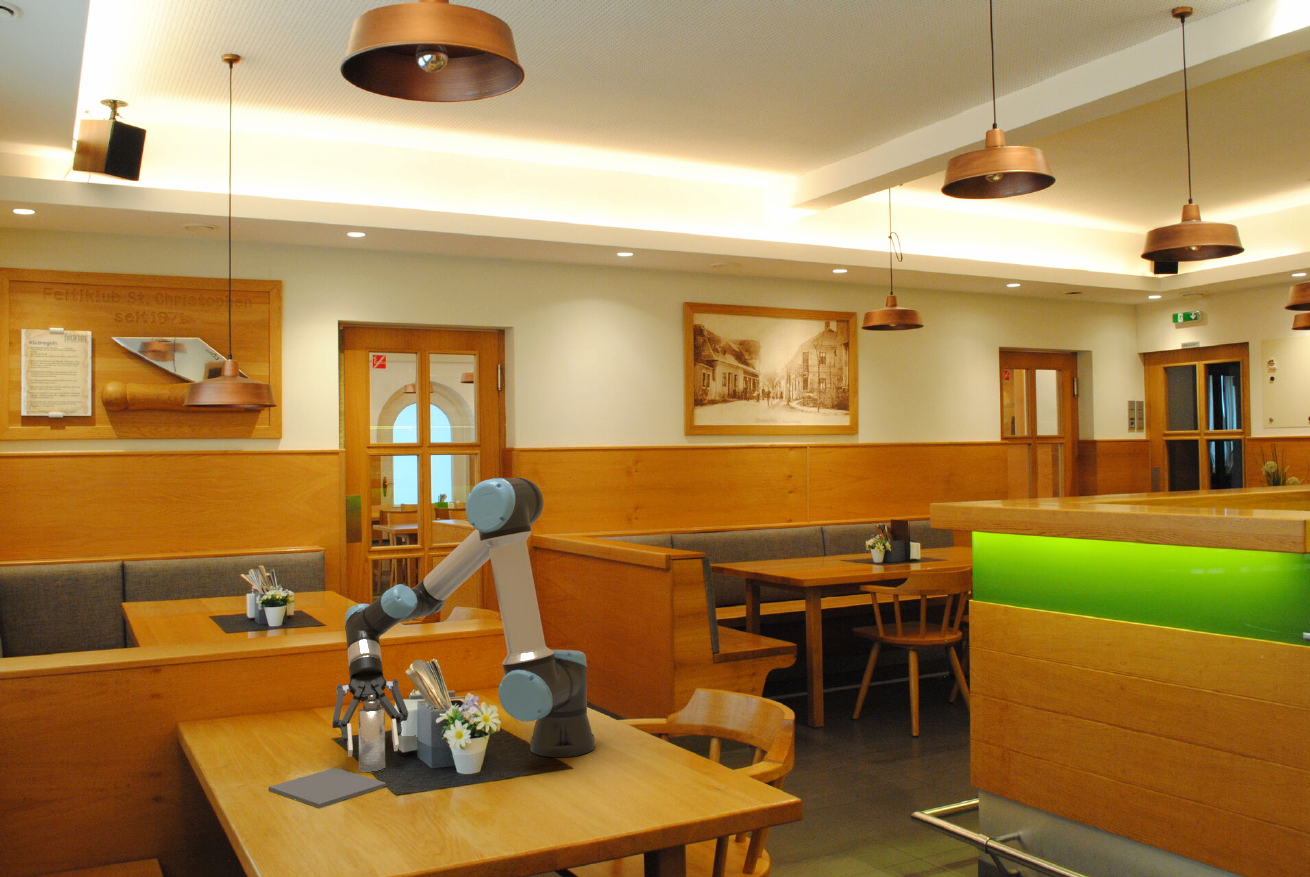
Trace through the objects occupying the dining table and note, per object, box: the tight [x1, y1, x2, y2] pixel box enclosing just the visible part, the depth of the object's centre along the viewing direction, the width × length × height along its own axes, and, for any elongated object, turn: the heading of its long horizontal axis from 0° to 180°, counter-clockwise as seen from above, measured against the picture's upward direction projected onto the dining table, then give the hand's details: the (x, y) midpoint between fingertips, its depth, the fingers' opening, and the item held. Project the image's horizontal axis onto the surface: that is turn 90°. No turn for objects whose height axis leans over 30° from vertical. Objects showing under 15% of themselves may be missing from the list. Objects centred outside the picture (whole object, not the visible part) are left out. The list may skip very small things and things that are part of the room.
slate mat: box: [268, 767, 387, 809], centre depth 209 cm, size 18×16×1 cm
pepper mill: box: [358, 694, 386, 773], centre depth 223 cm, size 6×6×16 cm
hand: (373, 750), depth 220 cm, fingers open, 9 cm apart
